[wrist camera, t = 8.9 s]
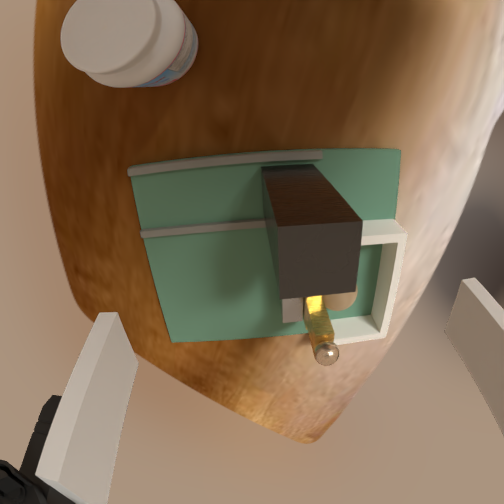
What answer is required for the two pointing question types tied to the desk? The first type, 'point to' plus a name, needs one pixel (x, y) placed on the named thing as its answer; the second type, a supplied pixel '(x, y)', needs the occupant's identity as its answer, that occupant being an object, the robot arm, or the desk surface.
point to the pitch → (244, 236)
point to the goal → (386, 286)
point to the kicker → (310, 248)
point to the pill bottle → (129, 41)
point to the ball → (340, 300)
